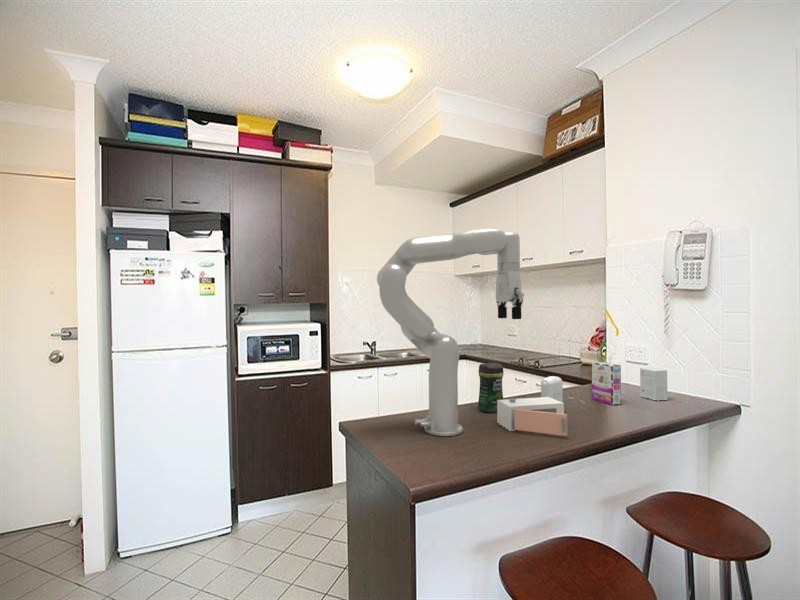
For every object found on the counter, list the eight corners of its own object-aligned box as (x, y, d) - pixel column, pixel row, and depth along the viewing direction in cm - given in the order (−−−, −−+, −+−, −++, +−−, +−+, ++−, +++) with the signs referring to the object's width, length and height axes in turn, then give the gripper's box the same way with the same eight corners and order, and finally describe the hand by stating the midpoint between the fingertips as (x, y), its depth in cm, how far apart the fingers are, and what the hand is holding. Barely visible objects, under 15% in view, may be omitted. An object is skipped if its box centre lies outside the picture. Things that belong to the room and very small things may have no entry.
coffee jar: (489, 414, 144) (488, 365, 145) (475, 409, 151) (474, 362, 151) (507, 410, 149) (507, 363, 149) (493, 406, 156) (492, 360, 156)
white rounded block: (555, 404, 159) (554, 374, 159) (564, 406, 155) (564, 375, 156) (539, 407, 153) (539, 377, 154) (548, 410, 150) (548, 378, 150)
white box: (510, 431, 125) (509, 403, 125) (497, 422, 134) (497, 397, 134) (569, 426, 129) (569, 399, 130) (553, 418, 138) (553, 393, 139)
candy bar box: (622, 404, 157) (621, 364, 158) (612, 405, 156) (612, 365, 156) (600, 398, 168) (599, 361, 168) (591, 399, 166) (590, 361, 167)
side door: (511, 430, 124) (511, 409, 124) (512, 428, 125) (512, 408, 125) (567, 436, 117) (567, 415, 117) (567, 435, 119) (567, 414, 119)
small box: (668, 400, 164) (667, 370, 164) (655, 401, 162) (655, 370, 162) (651, 396, 172) (651, 367, 172) (640, 397, 170) (639, 367, 170)
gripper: (487, 271, 139) (488, 318, 139) (511, 266, 123) (512, 319, 122) (506, 271, 141) (506, 317, 141) (532, 266, 124) (533, 319, 124)
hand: (509, 318), depth 132 cm, fingers open, 9 cm apart
